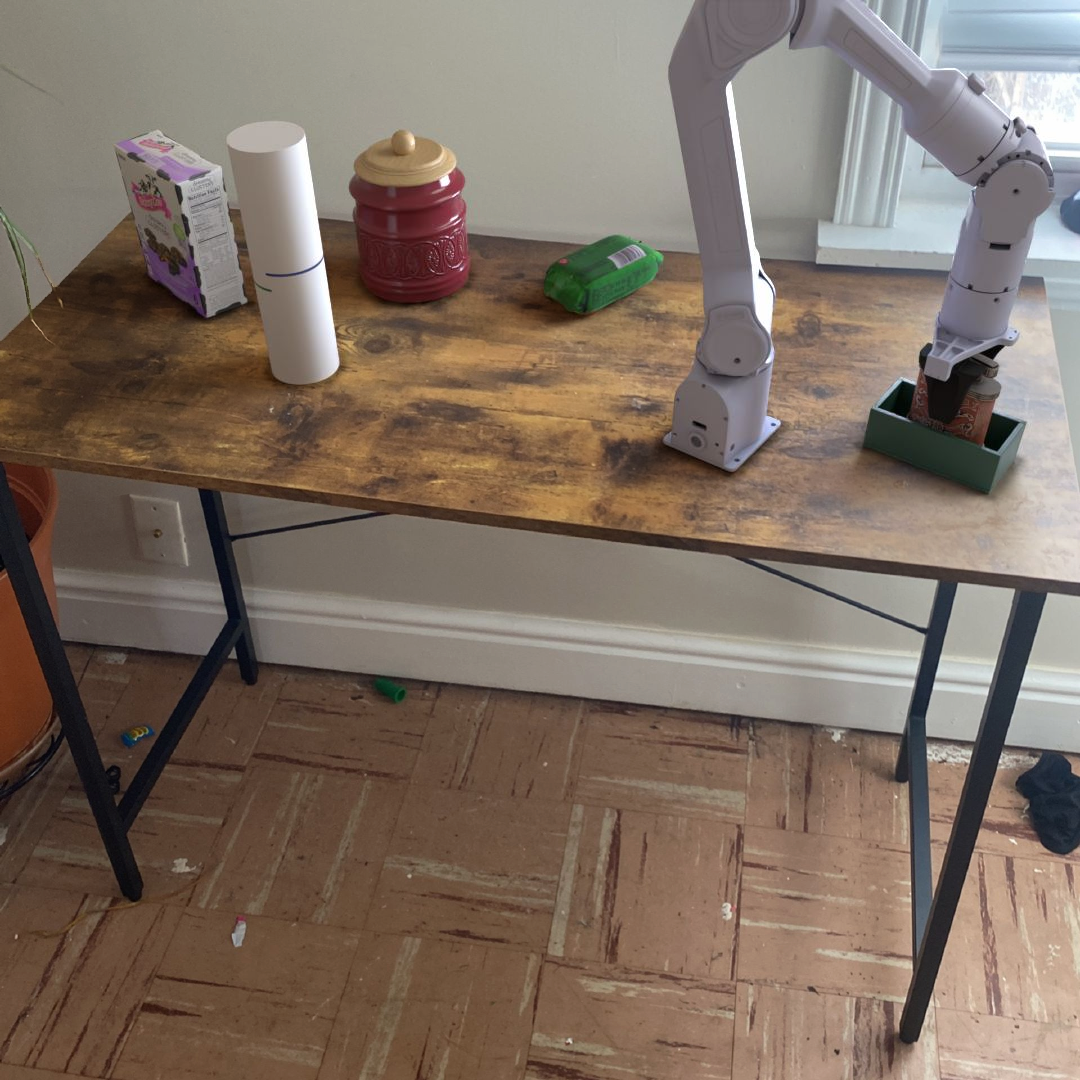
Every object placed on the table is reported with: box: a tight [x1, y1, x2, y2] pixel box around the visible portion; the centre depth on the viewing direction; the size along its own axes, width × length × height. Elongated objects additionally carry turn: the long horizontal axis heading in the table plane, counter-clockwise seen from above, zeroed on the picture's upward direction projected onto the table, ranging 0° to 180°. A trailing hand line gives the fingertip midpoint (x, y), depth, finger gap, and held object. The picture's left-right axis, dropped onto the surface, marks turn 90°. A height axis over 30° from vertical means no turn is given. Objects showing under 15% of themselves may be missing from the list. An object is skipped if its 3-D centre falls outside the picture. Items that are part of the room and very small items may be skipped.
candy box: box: [113, 129, 248, 319], centre depth 132 cm, size 14×6×16 cm, turn 42°
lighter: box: [907, 353, 1002, 447], centre depth 108 cm, size 8×3×10 cm, turn 39°
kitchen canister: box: [348, 129, 471, 304], centre depth 133 cm, size 13×13×18 cm
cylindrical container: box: [226, 120, 340, 386], centre depth 117 cm, size 7×7×25 cm
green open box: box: [862, 376, 1028, 495], centre depth 111 cm, size 6×12×4 cm, turn 53°
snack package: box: [542, 234, 665, 316], centre depth 134 cm, size 7×16×5 cm, turn 131°
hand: (949, 408), depth 109 cm, fingers closed on lighter, 4 cm apart
